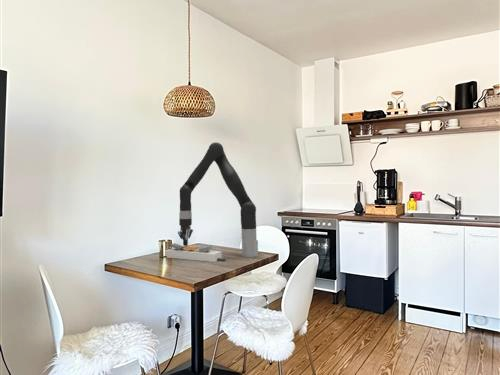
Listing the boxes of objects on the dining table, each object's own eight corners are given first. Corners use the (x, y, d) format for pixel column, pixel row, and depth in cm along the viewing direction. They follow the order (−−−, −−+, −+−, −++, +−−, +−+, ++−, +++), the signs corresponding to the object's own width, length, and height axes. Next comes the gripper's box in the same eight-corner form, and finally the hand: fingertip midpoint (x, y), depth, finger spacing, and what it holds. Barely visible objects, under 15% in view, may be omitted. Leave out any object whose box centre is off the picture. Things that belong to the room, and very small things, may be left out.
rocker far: (183, 248, 228) (183, 246, 228) (179, 250, 224) (179, 247, 224) (174, 245, 231) (174, 243, 231) (170, 246, 227) (170, 244, 227)
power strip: (228, 259, 216) (228, 251, 216) (221, 262, 208) (221, 253, 208) (171, 254, 235) (170, 246, 235) (162, 256, 227) (161, 249, 227)
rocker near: (212, 248, 218) (211, 245, 218) (208, 249, 215) (208, 247, 215) (202, 250, 221) (202, 247, 221) (199, 251, 218) (198, 249, 218)
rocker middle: (197, 249, 223) (197, 246, 223) (194, 250, 219) (194, 247, 219) (188, 247, 226) (188, 245, 226) (184, 248, 222) (184, 246, 222)
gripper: (184, 219, 216) (183, 248, 217) (196, 217, 228) (196, 244, 229) (173, 218, 220) (173, 246, 220) (186, 216, 232) (186, 243, 232)
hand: (185, 245), depth 225 cm, fingers closed
